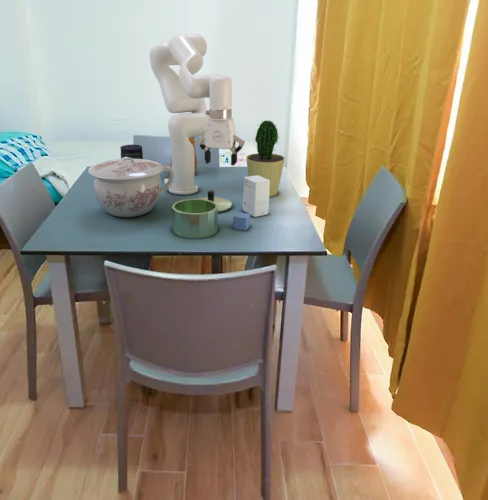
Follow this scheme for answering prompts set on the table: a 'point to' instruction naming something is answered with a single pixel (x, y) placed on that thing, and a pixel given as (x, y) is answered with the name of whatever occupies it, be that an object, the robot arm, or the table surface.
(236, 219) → the blue cube
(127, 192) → the chamber pot
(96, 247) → the table surface
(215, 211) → the pot
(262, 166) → the potted cactus
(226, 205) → the lid
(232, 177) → the table surface
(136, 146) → the storage jar
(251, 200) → the small box
